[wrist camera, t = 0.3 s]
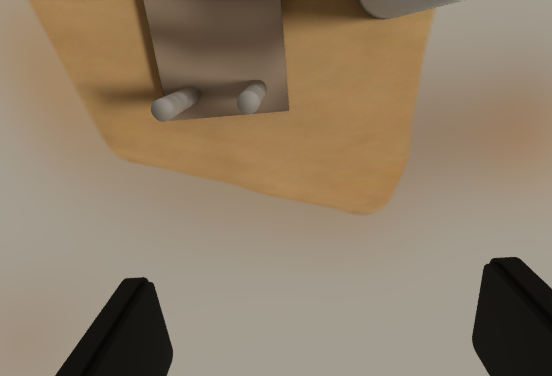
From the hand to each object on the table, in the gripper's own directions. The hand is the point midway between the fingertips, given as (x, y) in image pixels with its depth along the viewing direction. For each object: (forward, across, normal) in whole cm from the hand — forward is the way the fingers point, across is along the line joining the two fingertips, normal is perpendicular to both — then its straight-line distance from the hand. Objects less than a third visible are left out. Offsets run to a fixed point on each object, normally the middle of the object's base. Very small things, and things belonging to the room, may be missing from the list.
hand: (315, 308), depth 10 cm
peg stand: (+30, +7, -9) cm, 32 cm away
